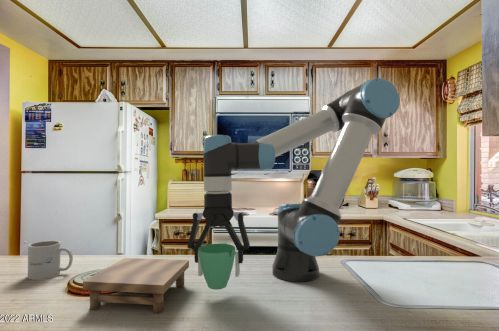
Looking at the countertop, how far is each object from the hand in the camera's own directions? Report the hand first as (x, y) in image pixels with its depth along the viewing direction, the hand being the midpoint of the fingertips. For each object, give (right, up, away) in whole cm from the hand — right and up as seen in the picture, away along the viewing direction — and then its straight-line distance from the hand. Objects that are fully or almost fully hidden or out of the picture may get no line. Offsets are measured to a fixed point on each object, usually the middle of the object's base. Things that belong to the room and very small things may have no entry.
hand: (219, 274), depth 84 cm
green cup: (0, -2, 0) cm, 2 cm away
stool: (-21, -5, -1) cm, 21 cm away
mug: (-55, -5, +15) cm, 57 cm away
